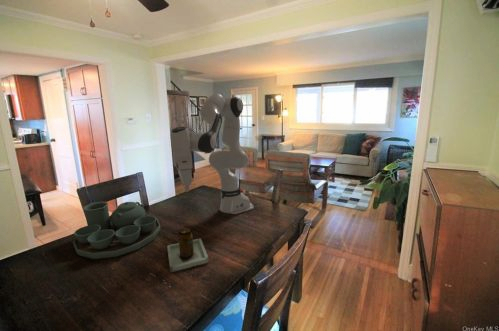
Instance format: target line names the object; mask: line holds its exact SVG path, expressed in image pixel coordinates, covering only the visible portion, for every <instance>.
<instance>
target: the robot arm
mask: <svg viewBox="0 0 499 331" xmlns="http://www.w3.org/2000/svg"><path fill="white" fill-rule="evenodd" d="M243 111H244V104H243V100H242V99H241V97H237V96H232V97H224V96H222V94H220V93H213V94H211V95H209V97H207V99H206V100H205V101H204V103H203V104H202V106H201V107H200V110H199V114H200V118H201V119H202V121H204V122H205V123H206V124H209V128H208V130H207V131H204V132H197V131H195V132H193V131H191V130H189V128H188V127H186V126H179V127H174V128H173V129H172V130H171V132H170V146H171V150H172V163H173V166H174V167H175V168H176V169H177V172H178V176H179V179H180V180H181V184H182V187H183V186H184V192H186V193H188V192H189V191H190V185H192V183H193V181H192V180H193V176H192V175H193V173H192V169H193V168H194V167H193V157H192V156H193V155H192V152H194V153H196V152H199V153H205V154H209V156H208V162H209V164H210V166H211V167H213V169H214V170H215V171H216V172H217V173H218V176H219V179H220V206H219V211H220V212H222V213H225V214H232V215H237V214H238V215H239V214H241V213H245V212H247V211H250V210H254V209H255V208H254V205H253V204H252V203H251V201H250V199H249V197H248V196H247V195H246V194H244V189H242V188H241V187H239V178H238V176H237V175H236V174H235V173H234V172H232V171H231V169H234V170H235V169H238V170H239V169H245V168H246V167H247V166H248V165H249V162H250V160H249V156H248V153H246V152H245V151H244V150H243V149H242V147H241V144H240V136H241V134H240V133H241V131H240V130H241V121H240V120H241V119H240V116H241V114H242V113H243ZM223 118H224V119H223ZM223 120H224V121H223ZM222 123H223V126H222ZM221 127H222V133H221V134H222V135H221V141H222V144H224V145H225V146H226V147H228V148H229V150H216V151H214V150H215V149H216V147H217V142H218V137H219V135H220V134H219V133H220V131H221Z"/></svg>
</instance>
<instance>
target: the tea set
mask: <svg viewBox="0 0 499 331" xmlns="http://www.w3.org/2000/svg"><path fill="white" fill-rule="evenodd" d="M108 205H109V202H107V201H95V202H91V203H89V204H86V205H85V206H83V209H82V210H83V211H84V214H85V219H86V225H85V226H82V227H79V228H78V229H76V230H75V231H73V235H74V236H75V237H76V238H75V239H74V240H73V241H72V244H73V248H74V249H75V252H76V254H77V255H78V256H81V257H84V258H89V259H92V260H98V259H107V258H108V259H109V258H116V257H120V256H123V255H126V254H129V253H132V252H134V251H137V250H139V249H141V248H143V247H145V246H146V245H147V244H149V243H151V242H152V241H154V240H155V238H156V237H157V236H158V234H159V232H160V231H161V224H160V222H159V220H158V218H157V217H155V216H153V215H149V214H146V209H145V208H144V207H143V206H141V203H140V202H138V201H136V202H134V201H125V202H122V203H120V204H119V205H117V208H115V210H113V211H112V213H111V214H110V212H109V207H108Z"/></svg>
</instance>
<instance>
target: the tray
mask: <svg viewBox="0 0 499 331" xmlns="http://www.w3.org/2000/svg"><path fill="white" fill-rule="evenodd" d="M193 248H194V252H195V253H196V254H197V255H198V256H199V257H197V258H194V259H192V260H190V261H187V262H183V261H182V260H181V259H180V258H179V257H178V256H177V253H180V248H179V242H177V243H173V244H172V243H171V244H168V245H167V255H168V263H169V264H168V265H169V271H170V272H169V273H174V272H178V271H183V270H186V269H189V268H192V267H193V266H194V267H196V266H197V265H198V266H200V265H205V264H208V263H210V258H209V255H208V252H207V251H206V248H205V245H204V242H203V240H202V238H201V237H200V238H195V239H194V238H193Z"/></svg>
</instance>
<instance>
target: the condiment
mask: <svg viewBox="0 0 499 331" xmlns="http://www.w3.org/2000/svg"><path fill="white" fill-rule="evenodd" d="M178 234H179V235H178V243H179V248H180V253H177V256H178V257H179V258H180V259H181V260H182V261H183V262H187V261H190V260H192V259H194V258H197V257H199V256H198V255H197V254H196V253H195V252H194V248H193V240H194V237H193V232H192V230H191V228H188V227H185V228H181V229H179V231H178Z"/></svg>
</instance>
